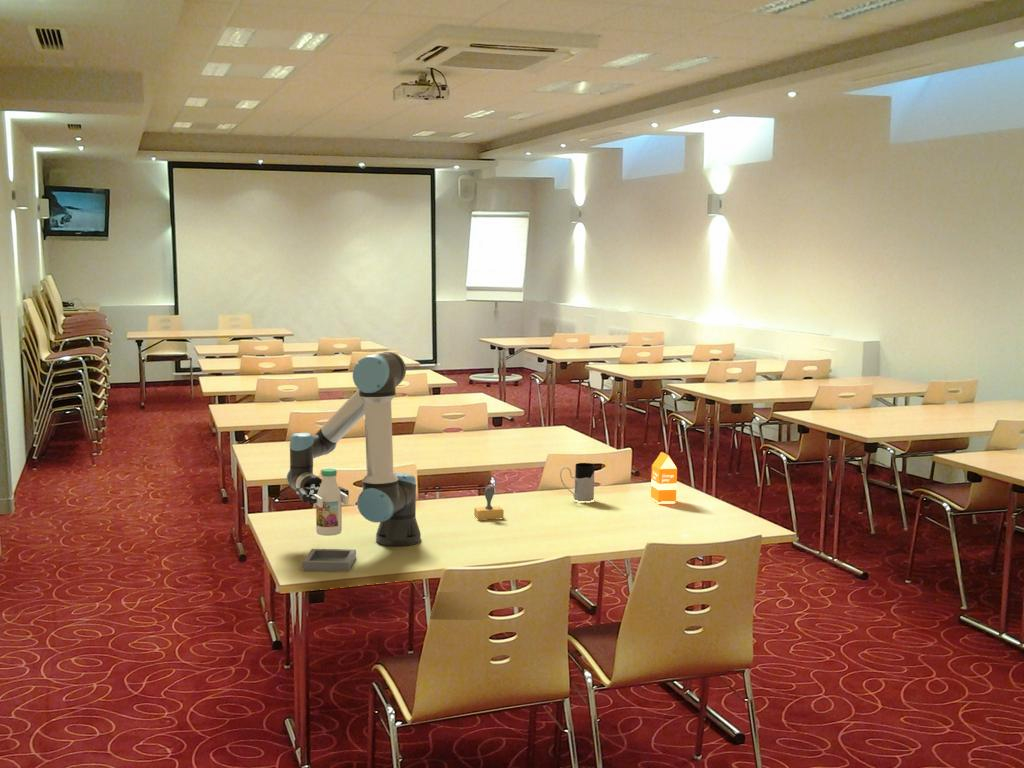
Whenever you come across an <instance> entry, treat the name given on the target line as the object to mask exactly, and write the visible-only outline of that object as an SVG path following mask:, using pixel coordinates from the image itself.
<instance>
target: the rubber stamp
mask: <svg viewBox="0 0 1024 768" xmlns="http://www.w3.org/2000/svg"><path fill="white" fill-rule="evenodd" d="M494 494H495V493H494V489H493V487H491V486H486V488H485V489H484V497H485V499H486V506H478V507H477V506H476V507H474V509H473V510H474V515H473V517H474V516H475V517H476V518H477V519H478V520H477V519H476V518H475V517H474V518H475V519H476V520H477V521H483V520H482V519H495V520H497V519H496V518H503V519H504V515H505V514H504V511H505V510H504V509H503V508H502V507H501V506H500V505H499V506H498V505H496V506H492V505H491V503H492V500H493V497H494Z"/></svg>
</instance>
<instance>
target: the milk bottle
mask: <svg viewBox="0 0 1024 768" xmlns="http://www.w3.org/2000/svg"><path fill="white" fill-rule="evenodd" d="M320 472H321V479H322V482H321V485H320V488H319V490H318V493H317V495H318V496H320V497H321V498H323V507H321V508H320V507H319V506H317V505H316V504H315V505H316V506H315V508H316V513H315V514H316V516H315V517H316V518H315V519H316V523H315V524H316V526H315V527H316V530H315V531H316V533H317V535H318V536H319V535H320V536H324V537H325V536H337V535H339V534H341V533H342V528H343V527H342V526H343V525H342V520H343V517H342V512H343V509H342V505H343V503H342V500H341V492H340V489H339V487H340V486H339V485H338V483H337V473H338V472H337V469H335V468H324V469H321V471H320ZM338 486H339V487H338Z"/></svg>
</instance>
